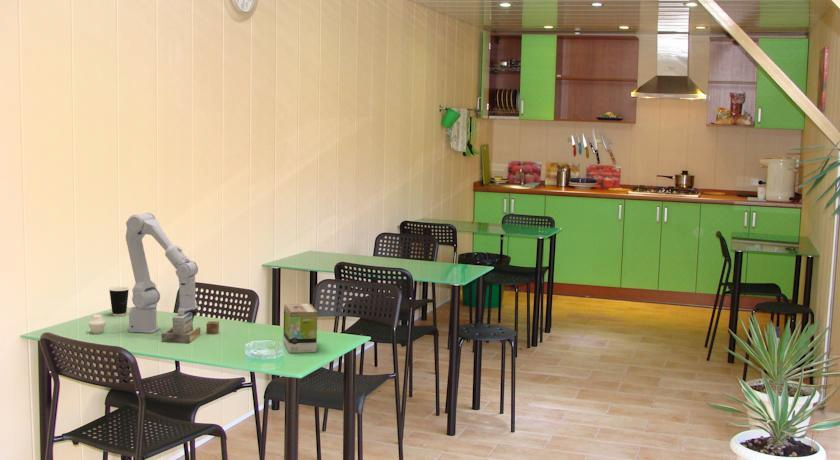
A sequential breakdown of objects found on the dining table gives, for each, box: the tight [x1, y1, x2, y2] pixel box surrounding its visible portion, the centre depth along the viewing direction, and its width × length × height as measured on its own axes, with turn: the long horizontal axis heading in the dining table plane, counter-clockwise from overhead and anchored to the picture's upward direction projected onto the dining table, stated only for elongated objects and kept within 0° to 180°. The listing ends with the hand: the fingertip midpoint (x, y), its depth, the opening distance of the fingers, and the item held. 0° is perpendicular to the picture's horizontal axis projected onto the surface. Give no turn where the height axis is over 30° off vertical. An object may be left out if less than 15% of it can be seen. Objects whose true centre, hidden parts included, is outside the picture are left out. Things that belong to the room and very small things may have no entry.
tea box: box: [282, 303, 318, 354], centre depth 321 cm, size 15×10×15 cm, turn 17°
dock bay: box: [161, 326, 201, 344], centre depth 331 cm, size 10×12×3 cm
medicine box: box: [172, 312, 194, 334], centre depth 331 cm, size 8×4×9 cm, turn 171°
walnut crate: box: [205, 320, 220, 335], centre depth 341 cm, size 4×4×4 cm
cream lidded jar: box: [88, 314, 107, 335], centre depth 336 cm, size 6×6×7 cm
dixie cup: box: [108, 286, 130, 317], centre depth 366 cm, size 8×8×11 cm
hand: (187, 330), depth 336 cm, fingers closed, pressing on medicine box
